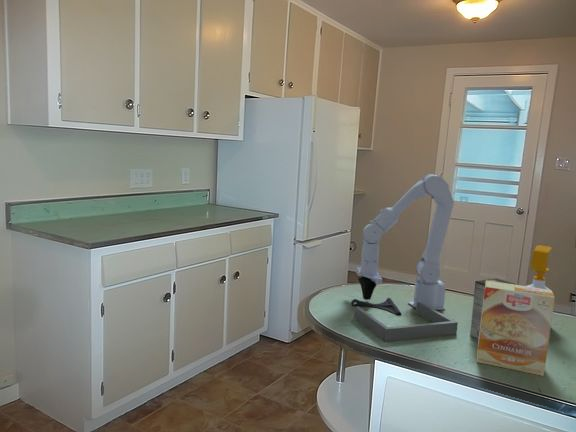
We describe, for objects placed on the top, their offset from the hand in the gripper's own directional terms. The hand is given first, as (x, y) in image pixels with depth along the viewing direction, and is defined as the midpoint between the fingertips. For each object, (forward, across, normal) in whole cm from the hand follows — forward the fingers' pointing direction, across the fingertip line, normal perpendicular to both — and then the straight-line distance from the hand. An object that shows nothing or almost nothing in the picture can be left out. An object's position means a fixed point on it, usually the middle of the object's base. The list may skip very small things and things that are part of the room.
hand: (366, 299), depth 155 cm
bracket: (+2, +5, 0) cm, 5 cm away
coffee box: (+1, +35, +20) cm, 40 cm away
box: (+1, +22, 0) cm, 22 cm away
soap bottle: (+1, +30, +42) cm, 52 cm away
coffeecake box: (+1, +50, +12) cm, 51 cm away
